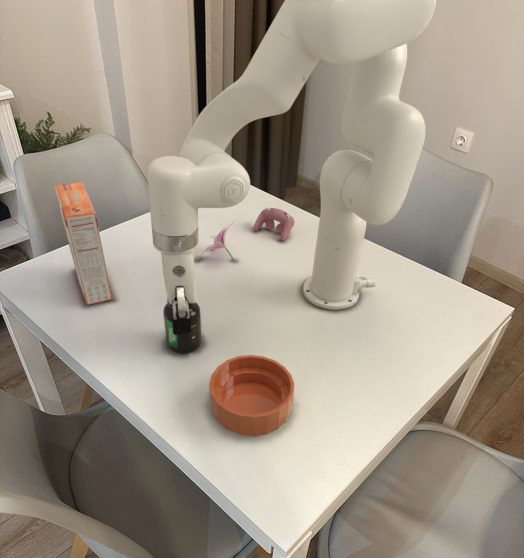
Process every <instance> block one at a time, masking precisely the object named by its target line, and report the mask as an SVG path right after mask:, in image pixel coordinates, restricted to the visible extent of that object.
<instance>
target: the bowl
mask: <svg viewBox="0 0 524 558" xmlns="http://www.w3.org/2000/svg"><path fill="white" fill-rule="evenodd" d="M208 386H209V387H208V388H209V389H208V390H209V406H210V412H211V414H212V417H213V418H214V420H215V421H216V422H217V423H218V424H219V425H220V426H221V427H223V428H224V429H225V430H227V431H229V432H232V433H234V434H237V435H238V436H239V435H240V436H241V435H242V436H249V437H257V436H263V435H268V434H270V433H272V432H276V431H277V430H279V429H280V428H281V427H282V426H283V425H284V424H286V423H287V421H288V419H289V417H290V416H291V414H292V410H293V402H294V401H293V400H294V393H295V382H294V379H293V376H292V374H291V373H290V371H289V370H288V369H287V368H286V367H285V366H284V365H283V364H281V363H279V362H278V361H277V360H275V359H273V358H270V357H267V356H264V355H255V354H247V355H238V356H235V357H231V358H229V359H227V360H225V361H223V362H222V363H221V364H220V365H218V366H217V367H216V368H215V370H214V371H213V372H212V374H211V376H210V379H209V383H208Z"/></svg>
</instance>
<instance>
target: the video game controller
mask: <svg viewBox="0 0 524 558" xmlns="http://www.w3.org/2000/svg"><path fill="white" fill-rule="evenodd" d="M275 222H278V223H277V225H276V223H275ZM264 225H265V228H266V230H273V229H275V231H276V233H277V234H281V235H280V240H281V241H282V242H284V241H286V240H287V238H288V237H289V236H290V234H291V231H292V229H293V228H294V225H295V219H294V217H293V216H292V215H290V214H289V213H288V212H286V211H285V210H282V209H281V208H276V207H265V208H264V209H263V210H261V211H260V213H259V215H258V216H257V218H256V220H255V222H254V224H253V230H254V231H255V232H257V231H258V230H260V229H261V228H262V227H263V226H264Z"/></svg>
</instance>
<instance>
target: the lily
mask: <svg viewBox="0 0 524 558" xmlns="http://www.w3.org/2000/svg"><path fill="white" fill-rule="evenodd" d="M233 224H234V222H232V223H230V224H229V225H228V224H226V226H225V227H223V228H222V230H221V231H220V232H218V234H217V235H215V237H214V235H211V236H210V237H209V238H211V239H213V244H211V246H210V247H208V248H207V249H205V250H204V251H203V252H202V253H201V254H200V255H199V256H198V257H197V259H196V261H198V259H200V258H201V257H202V256H203V254H204V253H205V254H207V253H208V252H209V251H211V250H217V249H218V250H219V249H225V251H226V252H227V253H228V254H229V256H230V257H231V259H232V261H233V262H235V261H236V260H235V258H234V257H233V256H232V253H231V252H230V251H229V249H228V248H227V246H226V236H227V232H228V230H229V229H230V227H231V226H232V225H233Z"/></svg>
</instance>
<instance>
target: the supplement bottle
mask: <svg viewBox="0 0 524 558" xmlns="http://www.w3.org/2000/svg"><path fill="white" fill-rule="evenodd" d="M166 297H167V296H166ZM185 300H186V298H185ZM174 301H177V297H175V298H174ZM188 304H189V315H190V316H191V333H190V334H180V335H174V334H173V326H172V316H173V305H171V304H170V303H169V302H168V297H167V300H166V304H165V305H164V306H163V309H162V314H163V323H164V334H165V342H166V346H167V348H168V349H169V350H170V351H171V352H172V353H175V354H178V355H179V354H180V355H187V354H191V353H194V352H196V351H197V350H198V349H199V348H200V347H201V344H202V319H201V318H202V316H201V308H200V305H199V303H198V302H197V301H196V302H195V303H189V302H188ZM177 311H178V304H177V305H176V312H177Z"/></svg>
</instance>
